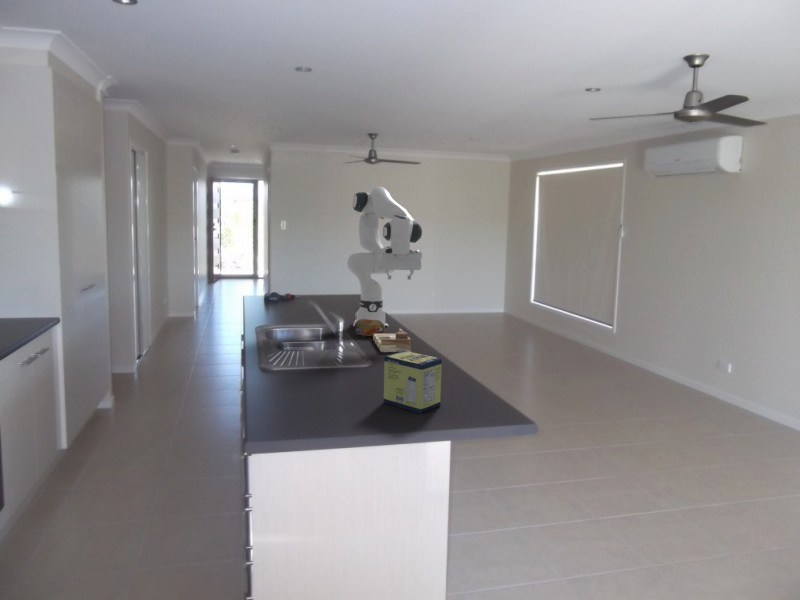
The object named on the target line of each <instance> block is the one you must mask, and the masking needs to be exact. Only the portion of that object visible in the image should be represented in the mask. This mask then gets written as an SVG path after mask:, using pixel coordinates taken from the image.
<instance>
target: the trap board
mask: <svg viewBox="0 0 800 600" xmlns="http://www.w3.org/2000/svg"><path fill="white" fill-rule="evenodd" d="M398 332H405V331H404V330H403V329H402V328H398ZM372 338H373V339H372V340H373V342H374V341H375V342H374V343H375V345H376V346H377V348H378V349H379V351H380V352H381V353H398V352H402V351H409V352H412V351H411V350H412V349H411V348H412V347H411V346H412V339H411V338H410V336H408V339H396V333H383V334H373V337H372Z"/></svg>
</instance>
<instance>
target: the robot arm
mask: <svg viewBox="0 0 800 600" xmlns="http://www.w3.org/2000/svg"><path fill="white" fill-rule="evenodd" d="M351 203H352V208H353V210H354V211H356V212H358V213H362V214H361V215H360V217H359V220H358V221H359V222H358V236H359V244H360V246H361V248H362V249H364V251H366V252H355V253H351V254H350V255H349V256H348V259H347V262H346V263H347V268H348V270H349V271H350V273H352V274H353V275H355V277H356V278H357V280H358V282H359V286H360V299H359V309H357V312H355V315H354V316H355V320H354V321H353V325H352V327H354V326H355V323H356V322H357V321H358V320H360V319H369V320H379V321H381V322H382V323H383V324H384V326H387V327H389V324H388V323H386V310H384V308H383V306H384V302H383V286H382V284H381V283H380V282H379V281H377V280H375V279H373V278H372V275H373V274H374V275H380V274H381V275H385V274H386V276H387V280H392V275H390V273H393V272H395V270H397V271H409V275H407V278H406V279H407V280H408V281H409V280H412V276H413V274H414V271H420V270H421V269H422V257H423V254H422V251H419V249H416V250H414V249H411V248H410V247H411V245H410V243H417V242H418V241H420V240H421V238H422V235H423V230H422V229H423V228H422V226H421V224H419V222H418V221H416V220H415V219H414V218H413V217H412V216H411V214H410V213H409V212H408V211H407V209H406V208H405V207H404V206H402V205H400V204H399V203H398V202H396V201H395V200H394V199H393V197H392V195H391V193H390V192H389V191H388V190H387V189H386V188H385V187H383V186H376V187H374V188H373V189H372V190H371V191H370V192H365V191H361V192H360V191H359V192H357V193H355V194H354V196H353V198H352V202H351ZM380 219H381V220H383V219H385V220H386V219H388V220H390V221H387V222H386V223H385V224H384V225H383V229H382V235H383V238H384V239H385V240H386V241H388V242H390V245H389V246H385V247H384V244H383V243H382V240H381V233H380V232H381V230H380V225H379V220H380Z"/></svg>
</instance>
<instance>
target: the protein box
mask: <svg viewBox="0 0 800 600" xmlns="http://www.w3.org/2000/svg"><path fill="white" fill-rule="evenodd" d="M442 363H443V359H442V358H440V357H436V356H432V355H431V356H430V355H425V354H420V353H416V352H412V351H411V352H409V351H402V352H393V353H391V354H387V355H384V363H383V365H384V367H383V368H384V369H383V370H384V371H383V402H384V404H386V403H387V404H388V405H389V404H391V405H390V406H393V405H394V406H393V407H396V406H397V407H396V408H399V407H401V408H400V409H403V408H404V409H403V410H406V409H408V410H407V411H409V410H411V411H410V412H413V411H415V412H414V413H416V412H418V413H417V414H419V413H421V414H423V413H422V412H424V413H426V412H428V410H429V411H431V410H433V408H434V409H436V408H439V407H441V393H442V392H441V391H442V390H441V389H442V388H441V387H442V365H443V364H442ZM387 404H386V405H387ZM438 406H439V407H438ZM435 407H436V408H435ZM430 409H431V410H430ZM425 411H426V412H425Z"/></svg>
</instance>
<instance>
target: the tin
mask: <svg viewBox="0 0 800 600" xmlns="http://www.w3.org/2000/svg"><path fill="white" fill-rule="evenodd" d="M353 329H354V331H355V333H356V335H358V336H359V335H363V336H362V337H365V336H372V337H371V338H373V334H385V330H386V327H385V326H384V324H383V323H382V322H381V321H379V320H369V319H360V320H358V321H357V322H356V323H355V327H354V326H353Z"/></svg>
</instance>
